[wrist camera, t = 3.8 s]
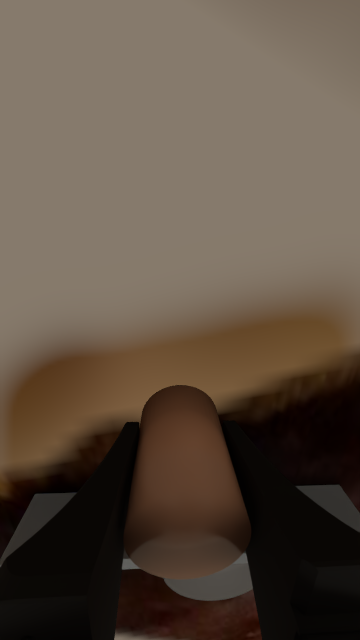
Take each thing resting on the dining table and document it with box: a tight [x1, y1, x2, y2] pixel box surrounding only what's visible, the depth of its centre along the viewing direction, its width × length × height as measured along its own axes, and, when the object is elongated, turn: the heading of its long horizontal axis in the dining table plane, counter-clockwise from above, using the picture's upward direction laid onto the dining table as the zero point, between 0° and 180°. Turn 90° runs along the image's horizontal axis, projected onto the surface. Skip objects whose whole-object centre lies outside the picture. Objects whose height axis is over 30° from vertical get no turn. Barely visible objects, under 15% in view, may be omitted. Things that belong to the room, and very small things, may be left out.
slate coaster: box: [163, 563, 253, 601], centre depth 17 cm, size 8×8×1 cm
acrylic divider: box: [0, 485, 360, 569], centre depth 14 cm, size 20×1×4 cm, turn 88°
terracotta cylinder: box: [123, 385, 251, 579], centre depth 11 cm, size 4×4×6 cm
